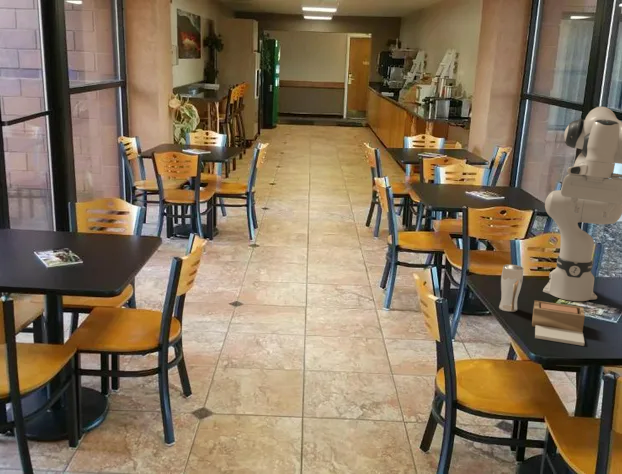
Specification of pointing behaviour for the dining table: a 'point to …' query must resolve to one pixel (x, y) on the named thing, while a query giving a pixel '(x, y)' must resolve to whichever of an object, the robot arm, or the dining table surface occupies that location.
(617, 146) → the robot arm
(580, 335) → the mat
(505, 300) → the beer glass
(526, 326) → the dining table surface
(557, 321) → the pocket block
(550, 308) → the tile
